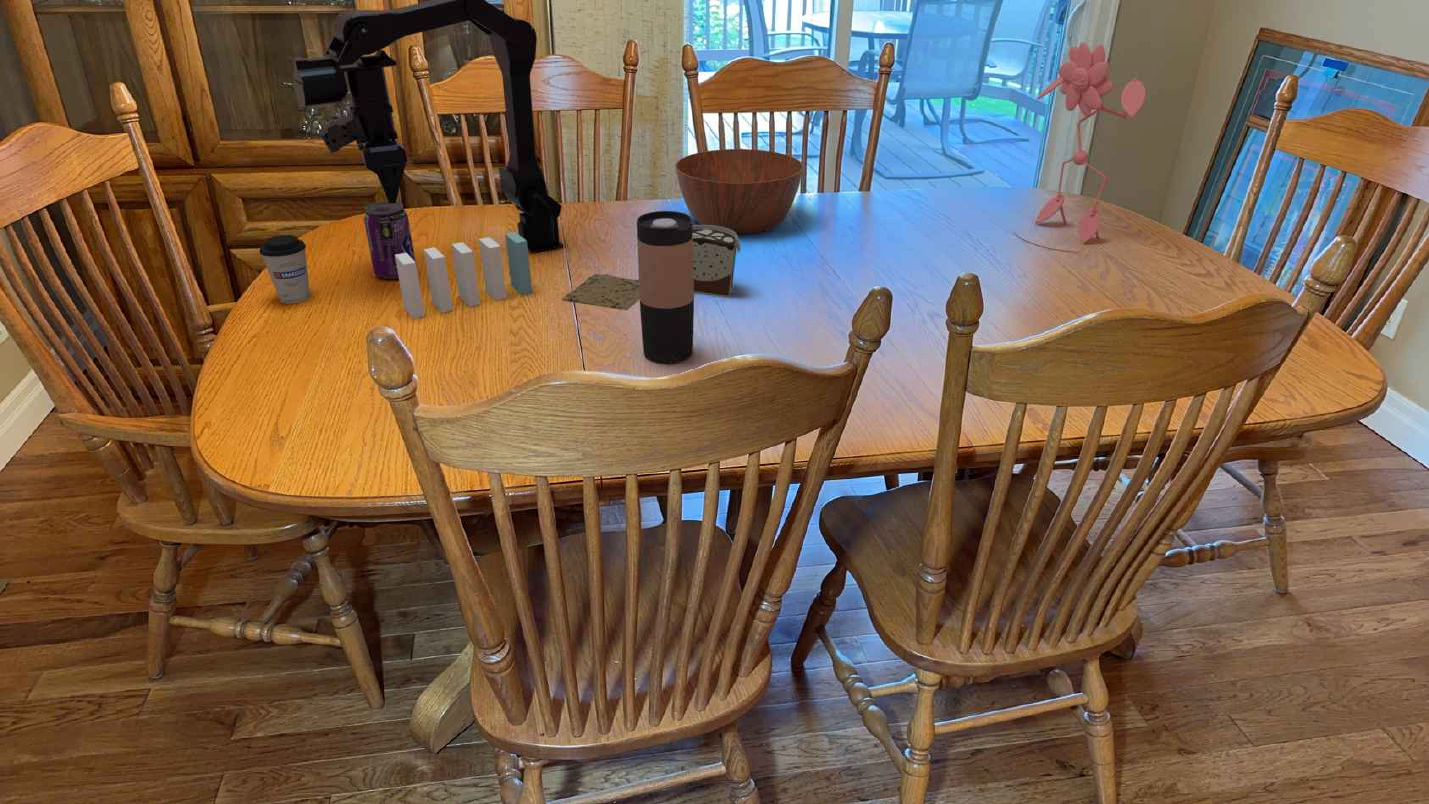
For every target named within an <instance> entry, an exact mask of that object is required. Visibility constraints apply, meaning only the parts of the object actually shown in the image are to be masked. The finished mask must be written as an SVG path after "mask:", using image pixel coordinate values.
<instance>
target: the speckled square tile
mask: <svg viewBox="0 0 1429 804" xmlns="http://www.w3.org/2000/svg"><path fill="white" fill-rule="evenodd" d="M561 301H564V302H569V303H577V304H582V305H589V306H595V307H596V306H598V307H602V308H604V307H605V308H610V309H618V310H623V311H628V310H629V309H631V308H632V306H634V305H635V304H636V303H637V302H638V301H640V299H639V279H631V278H625V277H618V276H615V275H609V274H607V273H606V274H599V273H598V274H593V275H591V276H589V277H587V279H585V281H583V282H582V283H580V284H579V285H578V286H577V287H575V289H573V290H572V291H570V292H569V293H567V294H566V295H565V296H563V298H562V299H561Z"/></svg>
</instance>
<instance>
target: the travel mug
mask: <svg viewBox="0 0 1429 804" xmlns="http://www.w3.org/2000/svg"><path fill="white" fill-rule="evenodd" d="M692 225H693V217H691V216H690V215H689V214H687V213H685V212H680V211H674V210H657V211H652V212H651V211H650V212H646V213H644V214H642V215H640V216H639V217H638V218H637V220H636V237H637V240H636V241H637V243H636V244H637V267H638V268H637V269H638V280H639V309H640V310H639V313H640V323H641V324H640V325H641V338H642V347H643V348H642V349H643V355H644V357H645V359H647V360H648V361H650V362H652V363H655V364H656V363H657V364H661V365H662V364H664V365H670V364H671V365H672V364H673V365H674V364H680V363H682V362H685V361H687V360H688V359H689V360H690V358H691V357H692V355H693V352H694V316H695V311H694V310H695V293H694V276H693V233H692Z"/></svg>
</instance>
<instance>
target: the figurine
mask: <svg viewBox="0 0 1429 804" xmlns="http://www.w3.org/2000/svg"><path fill="white" fill-rule="evenodd" d="M1068 56H1069V60H1070V61H1066V62H1064V63H1063V64H1061V65H1060V67H1059V68H1058V75H1059V76H1058V77H1057V78H1056V79H1054V80H1053V81H1052V82H1051V83H1050V84H1049V85H1048V86H1047V87H1046V88H1045V89H1043V91H1042V92H1041V93H1040V94H1039V95H1038V96H1037V97H1036V99H1037V100H1040V99H1042V98H1044V97H1045V96H1046V95H1048V94H1050V93H1051V92H1053V91H1054V90H1055V89H1056V88H1057V87H1059V86H1060V87H1059V88H1060V91H1059V92H1060V93H1061V94H1062V95H1064V96H1065V101H1064V102H1065V108H1066V110H1067V111H1068V112H1072V111H1074V110H1075V108H1076V107H1077V105H1078V108H1079V110H1080V113H1082V114H1083V116H1084V117H1083V118H1081V119H1079V120H1078V122H1077V123H1076V128H1077V129H1076V130H1077V141H1078V151H1076V152H1075V153H1074V154H1073V156H1072V158H1070V159H1068V160H1066V161H1064V162H1062V164H1061V171H1060V178H1059V183H1058V191H1057V195H1056V196H1054V197H1052V198H1051V199H1049V200H1048V201H1047V202H1046V203H1045V204H1044V205H1043V207H1042V208H1041V210H1040V211H1039V213H1038V215H1037V217H1036V220H1035V225H1037V224H1041V223H1042V222H1043V223H1044V222H1045V221H1048V220H1049V219H1050V218H1052V217H1053V216H1054V215H1056V214H1057V212H1058V211H1059V210H1060V214H1061V219H1062V221H1063V222H1062V223H1063V225H1066V224H1067V219H1066V215H1065V210H1064V207H1063V204H1064V202H1065V195H1063V194H1061V188H1062V181H1063V175H1064V167H1065V164H1068V163H1070V162H1072V161H1073V163H1074V165H1077V166H1083V165H1086V166H1087V167H1088V168H1089V169H1091V170H1093V171H1094V172H1095V173H1097V175H1098V174H1099V175H1100V176H1101V177H1103V178H1104V180H1103V182H1102V185H1101V187H1100V189H1099V192H1098V195H1097V198H1096V201H1095V202H1094V205H1093V207H1092V208H1088V209H1087V210H1085V211H1084V213H1083V214H1082V215H1081V216H1080V218H1079V221H1078V222H1077V223H1078V225H1077V226H1078V227H1077V228H1078V234H1079V237H1080V239H1081V241H1082V243H1083V244H1085V243H1086V242H1087V241H1089V240H1090V239H1092V237H1093V236H1095V238H1096V239H1100V233H1099V228H1100V225H1101V216H1100V215H1101V214H1100V211H1098V209H1096V208H1097V205H1098V203H1099V200H1100V198H1101V195H1102V192H1103V190H1104V188H1105V185H1106V183H1107V180H1108V178H1107V176H1106V175H1104V174H1103V173H1101V171H1099V170H1098V169H1096V168H1095V167H1093V166H1092V165H1090V164H1089V163H1088V161H1089V154H1088V152H1087V151H1085V150H1082V144H1081V143H1082V140H1081V139H1082V138H1081V123H1082V122H1085V121H1086V120H1088V119H1089V118H1090V117H1092V116H1094V115H1095V114H1097V113H1099V112H1100V111H1101V112H1103V111H1104V112H1106V113H1108V114H1112V115H1114V116H1117V117H1120V119H1125V120H1126V119H1127V116H1129V117H1130V118H1131V119H1133V118H1134V117H1135V116H1136V115H1137V114H1138V112H1139V111H1140V110H1141V108H1142V107H1143V105H1144V102H1145V100H1146V98H1147V97H1146V96H1147V95H1146V88H1145V86H1144V84H1143V82H1142V81H1140V80H1138V77H1133V78H1132V80H1131V81H1129V82H1128V83H1127V84H1125V86H1124V88H1123V90H1122V93H1121V97H1120V102H1121V106H1122V109H1123V111H1124V113H1123V114H1122V113H1119V112H1117V111H1114V110H1112V109H1109V108H1107V107H1106V105H1104V104H1103V99H1102V98H1101V97H1103V96H1106V95H1108V94H1109V93H1110V92H1112V91H1113V88H1114V83H1113V81H1112V80H1111V79H1110V78H1108V77H1107V76H1108V73H1109V70H1110V64H1109V62H1108V61H1106V51H1105V46H1104V45H1103V44H1098V46H1096V47H1095V48H1094V50H1093V51H1092V50H1091V48H1090V47H1089V45H1088V44H1087V43H1086V42H1081V43H1080V44H1079V46H1078V47H1077V46H1072V47H1070V48H1069V51H1068ZM1093 110H1094V111H1093ZM1012 232H1013V233H1014V235H1016V237H1017V238H1019V239H1021V240H1022V241H1023V242H1024V243H1027V244H1031V245H1034V246H1038V247H1042V248H1045V249H1047V250H1050V251H1060V252H1066V253H1076V254H1077V253H1078V254H1079V251H1072V250H1071V251H1070V250H1063V249H1056V248H1052V247H1051V248H1050V247H1046V246H1044V245H1039V244H1036V243H1033V242H1030V241H1029V240H1026V239H1024V238H1022V237H1020V236H1019V235H1018V234H1016V233H1015V231H1014V230H1012Z"/></svg>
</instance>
